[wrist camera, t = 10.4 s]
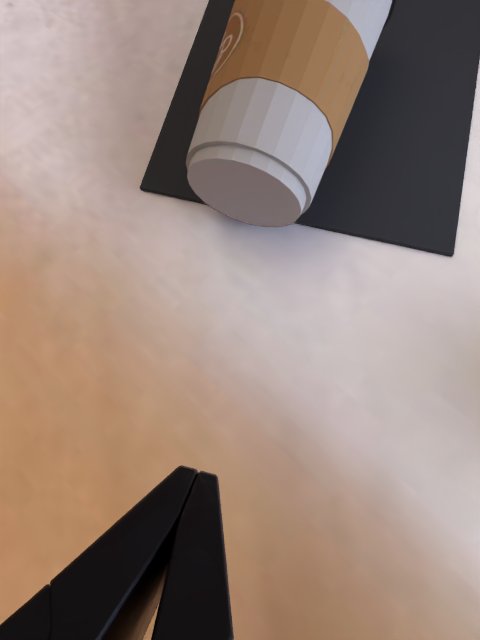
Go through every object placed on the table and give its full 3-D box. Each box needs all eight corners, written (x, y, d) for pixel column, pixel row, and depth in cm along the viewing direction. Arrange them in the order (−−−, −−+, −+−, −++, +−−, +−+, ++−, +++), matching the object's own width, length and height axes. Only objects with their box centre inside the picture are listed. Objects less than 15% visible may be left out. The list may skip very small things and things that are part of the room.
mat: (451, 256, 24) (453, 254, 24) (140, 190, 26) (139, 187, 26) (489, -29, 30) (491, -33, 30) (235, -67, 32) (235, -71, 32)
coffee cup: (151, 190, 24) (238, -21, 27) (283, 252, 26) (350, 50, 29) (179, 106, 16) (298, -178, 19) (364, 204, 18) (445, -65, 21)
